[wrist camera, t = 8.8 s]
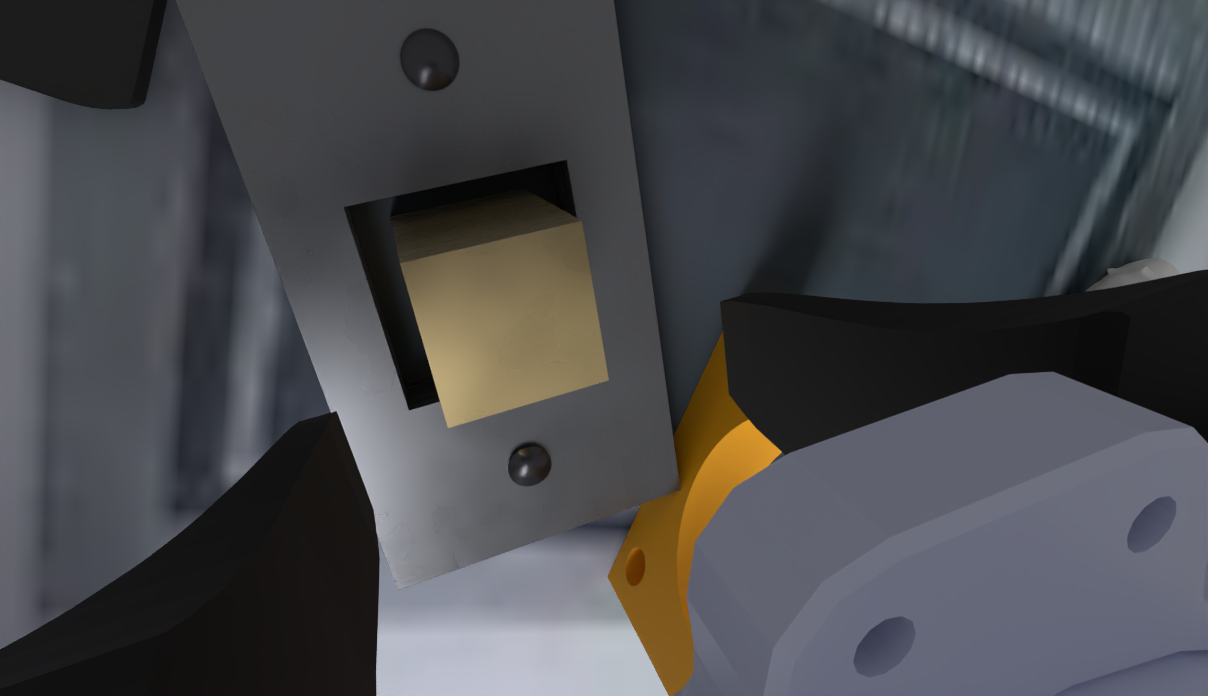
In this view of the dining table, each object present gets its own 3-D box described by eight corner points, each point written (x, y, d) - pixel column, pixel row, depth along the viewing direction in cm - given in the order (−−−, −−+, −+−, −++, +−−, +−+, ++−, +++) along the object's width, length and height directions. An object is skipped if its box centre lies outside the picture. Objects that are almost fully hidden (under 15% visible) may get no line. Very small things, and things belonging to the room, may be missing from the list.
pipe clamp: (693, 587, 28) (778, 712, 22) (606, 575, 26) (675, 707, 20) (820, 334, 26) (952, 402, 20) (734, 300, 24) (852, 365, 18)
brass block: (426, 342, 20) (447, 427, 15) (389, 216, 19) (399, 262, 14) (548, 310, 21) (608, 380, 16) (523, 188, 20) (581, 221, 14)
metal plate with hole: (395, 555, 23) (398, 594, 21) (176, -39, 15) (151, -57, 14) (660, 465, 25) (682, 493, 23) (578, -87, 18) (602, -107, 16)
